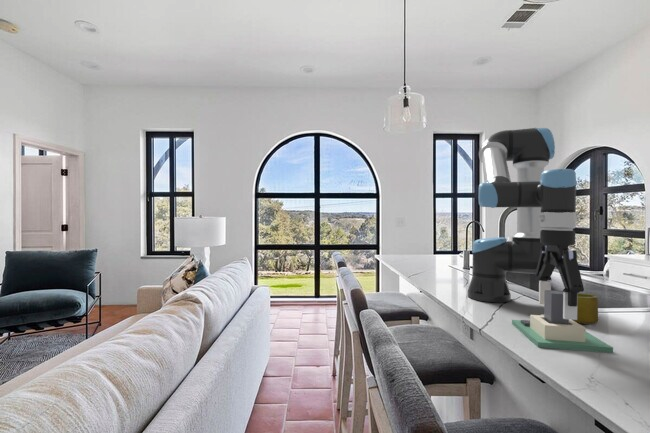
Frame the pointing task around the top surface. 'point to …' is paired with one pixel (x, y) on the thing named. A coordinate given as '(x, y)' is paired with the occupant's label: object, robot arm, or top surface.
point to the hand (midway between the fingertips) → (556, 311)
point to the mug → (587, 309)
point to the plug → (554, 307)
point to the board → (564, 344)
